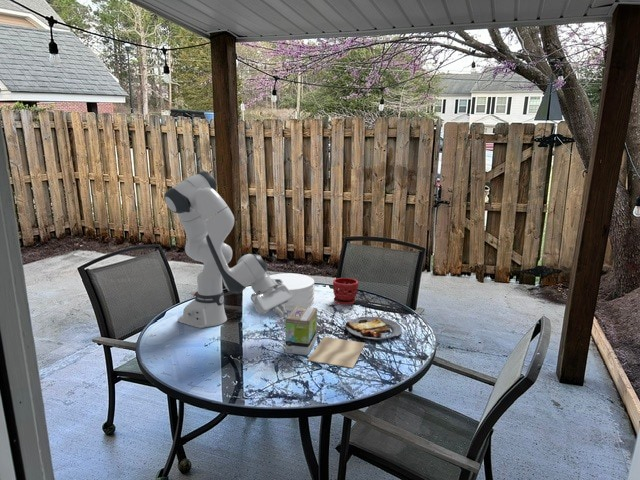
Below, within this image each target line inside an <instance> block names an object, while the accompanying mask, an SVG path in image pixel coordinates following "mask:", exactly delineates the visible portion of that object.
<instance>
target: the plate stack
mask: <svg viewBox="0 0 640 480" xmlns="http://www.w3.org/2000/svg"><path fill="white" fill-rule="evenodd" d="M268 276H269V277H270V278H271V279H281V280H282V281H283V283H282V284H284V285H285V286H286V287H287V288H288V289H289V291H290V292H291V294H292V299H291V300H290V301H289V302H287V303H285V304H284V306H285V310H286V312H291V311H292V310H293V308H294V307H295V306H300V307H310V308H311V307H312V306H313V305H314V304H315V280H314V278H313V277H311V276H308V275H305V274H300V273H288V272H287V273H284V272H283V273H277V274H270V275H268ZM278 309H279V308H278ZM280 310H281V309H280Z"/></svg>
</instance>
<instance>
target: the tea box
mask: <svg viewBox="0 0 640 480" xmlns="http://www.w3.org/2000/svg"><path fill="white" fill-rule="evenodd" d="M317 324H318V308H316V307H311V306H310V307H300V306H295V307H294V308H293V310H292V311H290V313H289V314H288V315H287V317H285V339H284V341H285V349H284V351H285V352H284V353H287V354H292V355H295V354H296V355H303V356H309V354H310V352H311V351H312V348H313V347H314V345H315V343H316V341H317V335H318V334H317V333H318V332H317V330H318V329H317V327H318V326H317Z"/></svg>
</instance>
